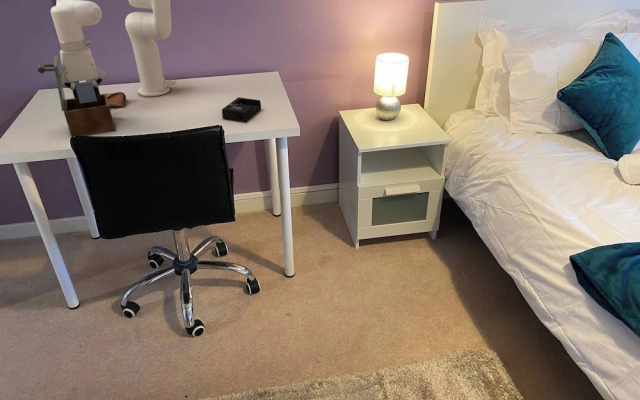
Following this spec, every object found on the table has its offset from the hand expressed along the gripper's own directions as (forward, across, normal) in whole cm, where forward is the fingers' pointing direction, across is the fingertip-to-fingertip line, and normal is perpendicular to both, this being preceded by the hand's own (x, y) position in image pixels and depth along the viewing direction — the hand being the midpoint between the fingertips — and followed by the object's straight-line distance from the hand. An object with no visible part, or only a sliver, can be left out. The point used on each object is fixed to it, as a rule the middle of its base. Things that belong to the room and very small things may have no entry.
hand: (88, 98), depth 167 cm
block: (0, 0, 0) cm, 0 cm away
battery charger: (+11, -51, +11) cm, 53 cm away
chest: (+11, +1, 0) cm, 11 cm away
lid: (-6, +7, 0) cm, 9 cm away
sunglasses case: (+11, -3, -20) cm, 23 cm away
